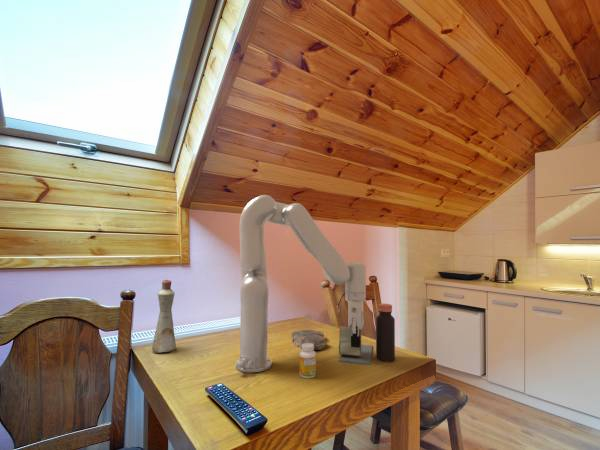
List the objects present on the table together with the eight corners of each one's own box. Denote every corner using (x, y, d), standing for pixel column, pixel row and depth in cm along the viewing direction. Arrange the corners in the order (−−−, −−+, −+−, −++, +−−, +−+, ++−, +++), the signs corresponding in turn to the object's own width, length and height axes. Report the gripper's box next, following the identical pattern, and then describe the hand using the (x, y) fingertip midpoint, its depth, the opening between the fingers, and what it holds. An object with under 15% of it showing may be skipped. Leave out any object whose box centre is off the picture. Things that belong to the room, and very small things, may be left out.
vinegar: (378, 354, 121) (378, 302, 122) (396, 357, 118) (396, 304, 119) (374, 360, 115) (374, 305, 116) (393, 363, 112) (393, 307, 113)
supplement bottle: (299, 371, 105) (299, 342, 105) (315, 371, 105) (315, 342, 105) (299, 378, 99) (299, 347, 100) (316, 378, 99) (316, 347, 100)
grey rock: (331, 352, 124) (321, 336, 143) (330, 340, 124) (321, 325, 143) (295, 354, 122) (291, 337, 142) (295, 342, 122) (290, 327, 142)
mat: (370, 365, 110) (370, 363, 110) (339, 361, 113) (339, 360, 113) (372, 346, 130) (372, 345, 130) (345, 344, 133) (345, 342, 133)
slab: (360, 356, 114) (360, 327, 117) (338, 354, 116) (339, 326, 119) (361, 355, 118) (361, 327, 121) (340, 353, 120) (340, 326, 123)
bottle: (151, 355, 117) (153, 281, 119) (152, 348, 126) (154, 278, 127) (176, 352, 121) (178, 280, 122) (175, 345, 129) (177, 277, 131)
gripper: (364, 300, 107) (364, 354, 106) (366, 293, 122) (367, 341, 121) (342, 299, 109) (342, 352, 108) (347, 292, 124) (347, 339, 123)
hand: (355, 346), depth 114 cm, fingers closed
